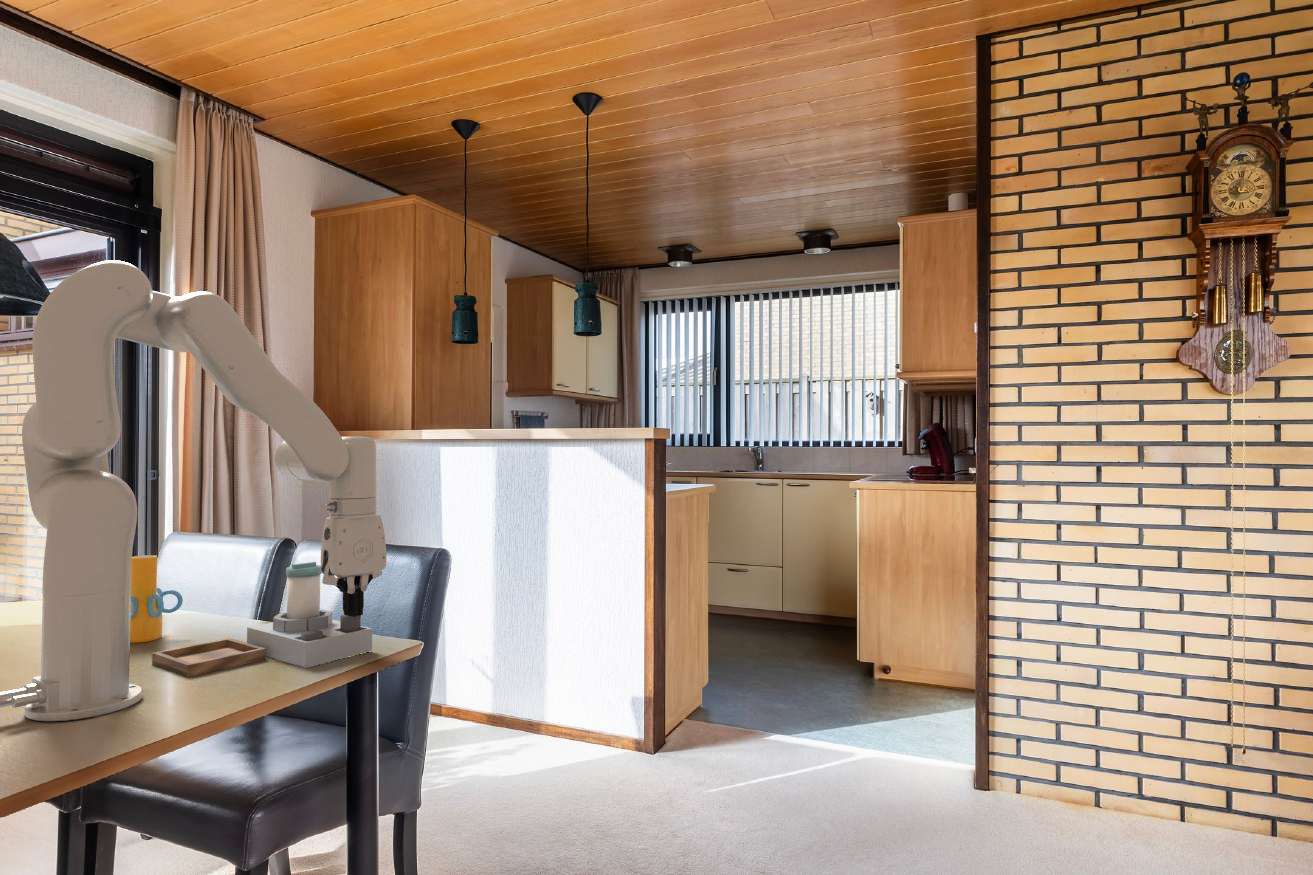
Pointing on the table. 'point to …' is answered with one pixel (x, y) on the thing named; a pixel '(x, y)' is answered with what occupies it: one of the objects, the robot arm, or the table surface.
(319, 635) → the plunger left
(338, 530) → the robot arm
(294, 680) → the table surface
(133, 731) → the table surface
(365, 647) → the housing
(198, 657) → the tray
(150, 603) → the cylinder
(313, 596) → the cylinder
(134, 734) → the table surface
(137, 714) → the table surface
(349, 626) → the plunger right
